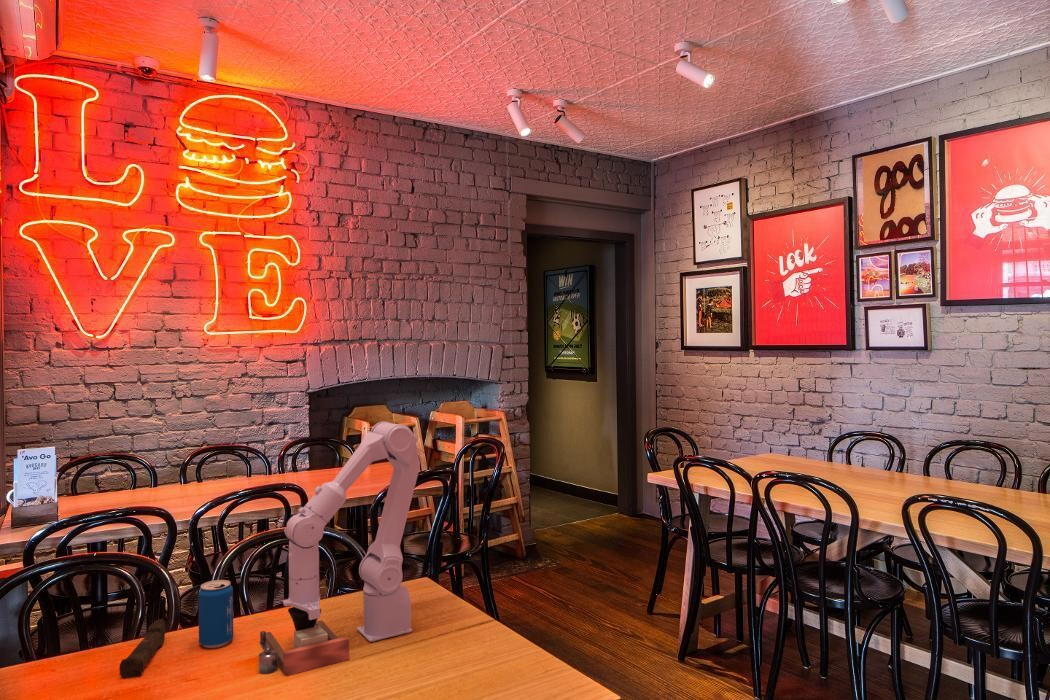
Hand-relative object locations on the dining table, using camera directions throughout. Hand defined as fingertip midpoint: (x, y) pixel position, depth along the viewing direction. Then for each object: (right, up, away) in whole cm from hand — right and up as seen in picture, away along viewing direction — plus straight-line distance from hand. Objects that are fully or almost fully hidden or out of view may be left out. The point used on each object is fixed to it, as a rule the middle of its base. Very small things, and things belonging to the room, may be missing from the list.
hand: (304, 644), depth 138 cm
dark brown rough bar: (-31, -2, -2) cm, 31 cm away
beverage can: (-20, -2, +4) cm, 20 cm away
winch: (-5, -2, -7) cm, 9 cm away
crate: (+2, -1, -3) cm, 4 cm away
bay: (0, -1, +1) cm, 2 cm away
